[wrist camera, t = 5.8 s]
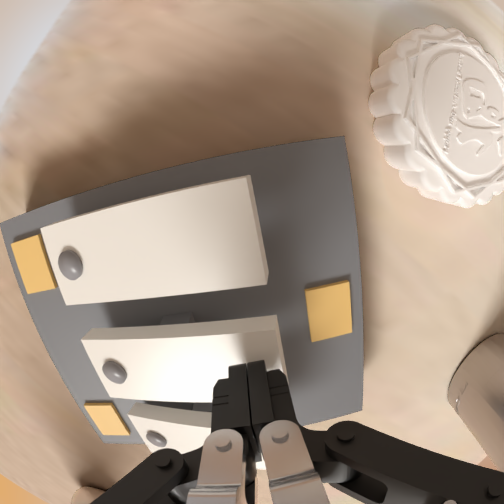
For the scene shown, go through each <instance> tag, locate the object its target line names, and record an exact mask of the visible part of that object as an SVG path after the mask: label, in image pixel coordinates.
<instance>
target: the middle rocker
mask: <svg viewBox="0 0 504 504" xmlns="http://www.w3.org/2000/svg"><path fill="white" fill-rule="evenodd" d="M81 341H82V343H83V346H84V348H85V350H86V352H87V354H88V356H89V358H90V360H91V362H92V364H93V366H94V368H95V370H96V372H97V374H98V376H99V378H100V380H101V381H102V383H103V385H104V387H105V389H106V391H107V392H108V394H109V396H110V397H113V398H123V399H135V400H149V401H168V402H212V399H213V387H214V386H215V384H216V383H217V381H218V379H225V378H228V367H229V366H231V365H237V364H243V363H246V365H247V363H248V362H254V361H259V360H264V361H265V365H266V370H267V371H270V370H275V369H280V370H281V371H282V372H283V373H284V374H285V375H286V378H287V382H288V376H287V371H286V365H285V359H284V353H283V348H282V342H281V337H280V331H279V325H278V320H277V315H270V316H261V317H252V318H243V319H233V320H222V321H211V322H199V323H186V324H172V325H157V326H138V327H116V328H92V329H91V330H90V331H89V332H88V333H87V334H86V335H85V336H84V337H83V338H82V339H81ZM288 383H289V382H288Z"/></svg>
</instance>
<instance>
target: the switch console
mask: <svg viewBox="0 0 504 504" xmlns="http://www.w3.org/2000/svg"><path fill="white" fill-rule="evenodd" d="M246 175H251V181H252V186H253V191H254V196H255V201H256V207H257V212H258V217H259V222H260V228H261V233H262V238H263V244H264V249H265V254H266V260H267V265H268V270H269V275H268V280H267V285H259V286H251V287H243V288H235V289H227V290H219V291H210V292H201V293H193V294H184V295H174V296H165V297H155V298H145V299H135V300H124V301H113V302H102V303H90V304H77V305H66V304H65V301H64V299H63V296H62V294H61V291H60V288H59V285H58V283H57V280H56V277H55V274H54V271H53V268H52V265H51V262H50V259H49V256H48V253H47V250H46V247H45V243H44V240H43V236H42V233H41V229H40V228H42V227H45V226H47V225H50V224H52V223H55V222H58V221H61V220H64V219H67V218H71V217H74V216H77V215H81V214H84V213H88V212H91V211H95V210H98V209H102V208H106V207H109V206H113V205H117V204H121V203H125V202H128V201H132V200H136V199H140V198H144V197H148V196H152V195H157V194H161V193H165V192H169V191H174V190H178V189H183V188H187V187H192V186H196V185H201V184H206V183H211V182H215V181H220V180H226V179H231V178H236V177H241V176H246ZM0 227H1V231H2V235H3V238H4V242H5V245H6V249H7V252H8V255H9V258H10V261H11V264H12V267H13V270H14V273H15V276H16V279H17V282H18V285H19V287H20V290H21V293H22V295H23V298H24V300H25V303H26V305H27V308H28V310H29V312H30V315H31V317H32V319H33V322H34V324H35V326H36V328H37V331H38V333H39V335H40V337H41V339H42V341H43V343H44V345H45V347H46V349H47V351H48V353H49V355H50V357H51V359H52V361H53V363H54V365H55V367H56V369H57V370H58V372H59V374H60V376H61V378H62V379H63V381H64V383H65V385H66V386H67V388H68V390H69V391H70V393H71V395H72V396H73V398H74V400H75V401H76V403H77V404H78V406H79V408H80V409H81V411H82V412H83V414H84V415H85V417H86V418H87V420H88V421H89V423H90V424H91V426H92V427H93V429H94V430H95V432H96V433H97V434H98V436H99V437H100V439H101V440H102V441H103V443H114V444H145V442H144V441H143V439H142V438H141V436H140V435H139V433H138V431H137V430H136V428H135V427H134V425H133V423H132V422H131V420H130V418H129V417H128V415H127V414H128V412H129V411H130V410H131V408H132V407H133V405H134V404H135V403H136V402H137V403H143V404H149V405H155V406H162V407H169V408H176V409H184V410H192V411H201V412H212V402H168V401H149V400H135V399H123V398H113V397H110V396H109V394H108V392H107V391H106V389H105V387H104V385H103V383H102V381H101V380H100V378H99V376H98V374H97V372H96V370H95V368H94V366H93V364H92V362H91V360H90V358H89V356H88V354H87V352H86V350H85V348H84V346H83V343H82V341H81V339H82V338H83V337H84V336H85V335H86V334H87V333H88V332H89V331H90V330H91V329H92V328H116V327H138V326H157V325H172V324H186V323H199V322H211V321H222V320H233V319H243V318H252V317H261V316H270V315H277V320H278V325H279V331H280V337H281V342H282V348H283V353H284V359H285V365H286V371H287V376H288V382H289V383H288V386H289V390H290V394H291V398H292V402H293V407H294V411H295V415H296V419H297V421H298V423H299V424H300V425H301V426H304V425H309V424H313V423H317V422H321V421H325V420H329V419H333V418H337V417H340V416H344V415H348V414H351V413H355V412H358V411H361V410H362V403H363V306H362V285H361V269H360V256H359V244H358V233H357V223H356V214H355V206H354V197H353V190H352V182H351V175H350V168H349V162H348V156H347V149H346V143H345V138H344V136H340V137H332V138H324V139H316V140H309V141H302V142H295V143H288V144H282V145H276V146H270V147H264V148H259V149H253V150H248V151H242V152H237V153H232V154H227V155H222V156H218V157H213V158H208V159H204V160H199V161H195V162H191V163H186V164H182V165H178V166H174V167H170V168H166V169H162V170H158V171H154V172H150V173H147V174H143V175H139V176H136V177H132V178H129V179H125V180H122V181H118V182H115V183H112V184H108V185H105V186H102V187H98V188H95V189H92V190H89V191H86V192H83V193H80V194H77V195H74V196H71V197H68V198H65V199H62V200H59V201H56V202H54V203H51V204H48V205H45V206H43V207H40V208H37V209H35V210H32V211H29V212H27V213H24V214H22V215H19V216H17V217H14V218H12V219H9V220H7V221H4V222H2V223H0Z"/></svg>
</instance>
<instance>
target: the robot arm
mask: <svg viewBox="0 0 504 504" xmlns="http://www.w3.org/2000/svg"><path fill="white" fill-rule="evenodd" d="M448 401H449V403H450V404H451V406H452V407H453V408H454V410H455V411H456V413H457V414H458V415H459V416H460V418H461V419H462V420H463V422H464V423H465V424H466V426H467V427H468V429H469V430H470V431H471V433H472V434H473V435H474V437H475V438H476V440H477V441H478V442H479V444H480V445H481V447H482V448H483V449H484V451H485V452H486V454H487V455H488V456H489V458H490V459H491V461H492V462H493V463H494V465H495V466H496V468H497V469H498V471H497V470H493V469H489V468H485V467H481V466H478V465H474V464H471V463H467V462H464V461H461V460H457V459H454V458H451V457H448V456H445V455H442V454H439V453H436V452H433V451H430V450H427V449H424V448H421V447H418V446H415V445H413V444H410V443H407V442H405V441H402V440H399V439H397V438H394V437H392V436H389V435H387V434H384V433H382V432H379V431H377V430H374V429H372V428H369V427H367V426H365V425H362V424H360V423H358V422H354V421H342V422H338V423H336V424H334V425H332V426H331V427H330V428H329V429H328V430H327V431H314V430H309V429H306V428H304V427H303V426H301V425H300V424H299V423H298V421H297V419H296V415H295V411H294V407H293V402H292V398H291V394H290V390H289V386H288V382H287V378H286V375H285V374H284V373H283V372H282V371H281V370H280V369H275V370H270V371H267V370H266V365H265V361H264V360H259V361H254V362H248V363H247V365H246V363H243V364H237V365H231V366H229V367H228V378H225V379H218V381H217V383H216V384H215V386H214V387H213V399H212V417H211V434H210V435H209V436H208V437H207V438H206V439H205V441H204V444H203V446H201V447H200V448H198V449H196V450H193V451H190V452H187V453H184V454H181V453H180V452H179V451H177V450H175V449H171V448H164V449H160V450H157V451H155V452H154V453H152V454H151V455H150V456H149V457H147V458H146V459H145V460H144V461H143V462H142V463H140V464H139V465H138V466H137V467H136V468H134V469H133V470H132V471H131V472H129V473H128V474H127V475H126V476H124V477H123V478H122V479H121V480H120V481H118V482H117V483H116V484H114V485H113V486H112V487H111V488H109V489H108V490H107V491H106V492H104V493H103V494H102V495H100V496H99V497H98V498H96V499H95V500H94V501H92V502H91V503H90V504H257V491H258V479H257V475H256V474H257V470H256V462H261V461H262V456H263V460H264V461H265V466H266V470H267V475H268V479H269V487H270V492H271V496H272V501H273V504H330V502H329V499H328V497H327V494H326V492H325V489H324V486H323V484H322V483H329V484H330V485H331V486H332V487H334V488H336V489H338V490H340V491H341V492H343V493H345V494H347V495H349V496H351V497H353V498H355V499H357V500H359V501H361V502H363V503H365V504H504V334H502V333H500V334H495V335H493V336H491V337H489V338H487V339H486V340H484V341H483V342H482V343H480V344H479V345H478V346H477V347H476V348H475V349H474V350H473V351H472V352H471V353H470V354H469V355H468V356H467V357H466V359H465V360H464V361H463V363H462V364H461V365H460V367H459V368H458V370H457V371H456V373H455V375H454V377H453V379H452V381H451V383H450V386H449V389H448ZM261 453H262V455H261Z"/></svg>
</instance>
